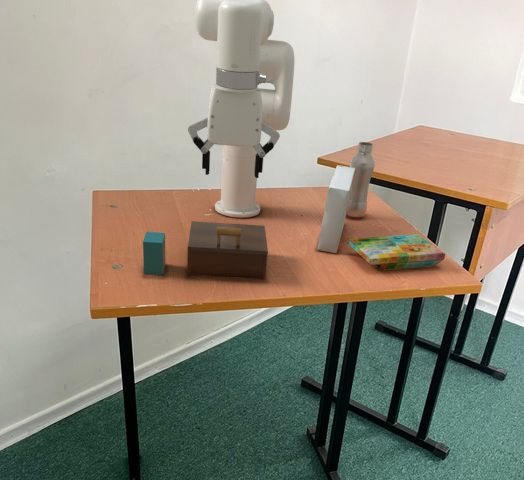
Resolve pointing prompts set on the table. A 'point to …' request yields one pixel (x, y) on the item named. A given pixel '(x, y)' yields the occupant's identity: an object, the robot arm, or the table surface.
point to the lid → (227, 238)
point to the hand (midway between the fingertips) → (231, 174)
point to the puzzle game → (397, 251)
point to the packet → (154, 253)
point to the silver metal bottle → (360, 179)
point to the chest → (227, 264)
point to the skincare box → (336, 209)
